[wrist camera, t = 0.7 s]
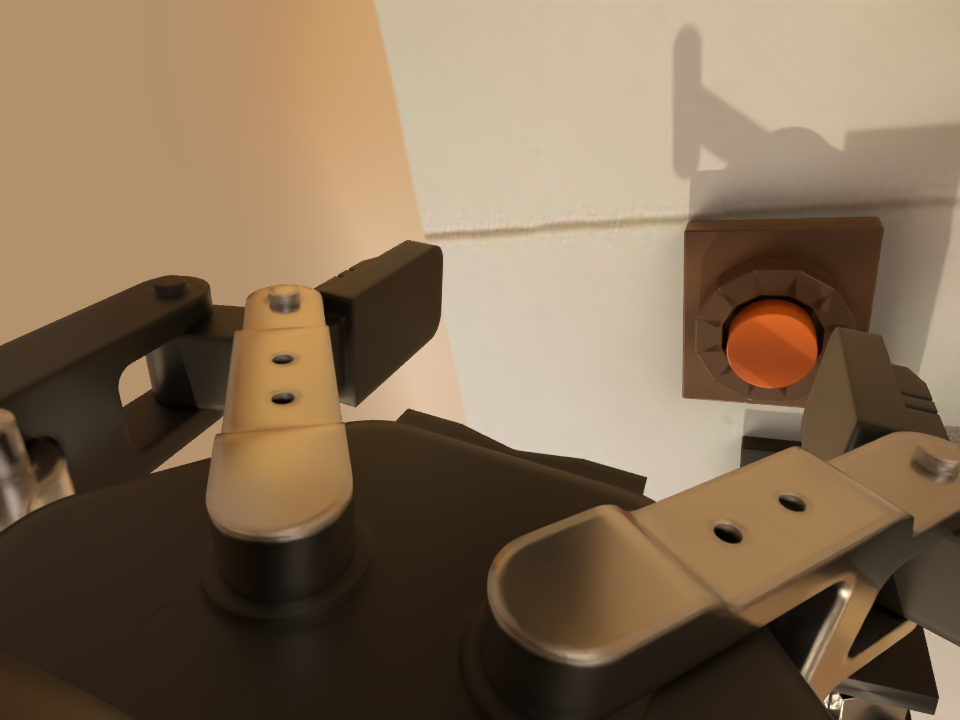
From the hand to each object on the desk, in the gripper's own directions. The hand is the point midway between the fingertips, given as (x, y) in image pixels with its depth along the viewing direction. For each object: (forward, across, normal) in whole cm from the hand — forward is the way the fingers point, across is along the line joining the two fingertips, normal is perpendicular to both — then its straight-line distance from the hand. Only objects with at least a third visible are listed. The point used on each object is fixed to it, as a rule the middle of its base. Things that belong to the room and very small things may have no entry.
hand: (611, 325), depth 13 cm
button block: (+20, -5, +7) cm, 22 cm away
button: (+17, -5, +7) cm, 19 cm away
